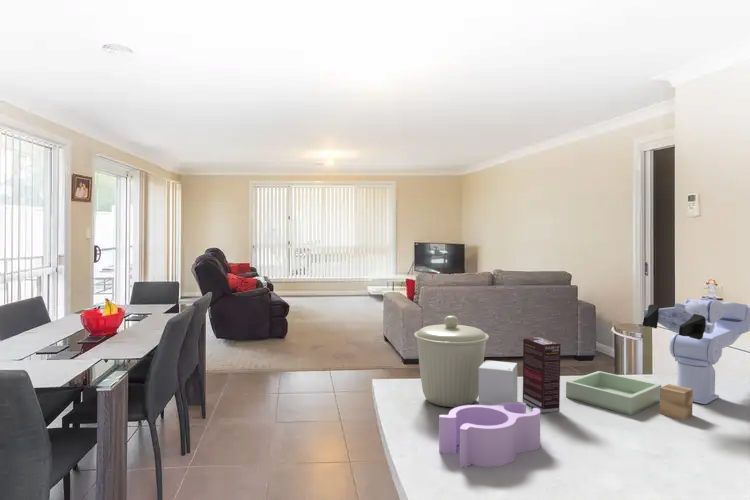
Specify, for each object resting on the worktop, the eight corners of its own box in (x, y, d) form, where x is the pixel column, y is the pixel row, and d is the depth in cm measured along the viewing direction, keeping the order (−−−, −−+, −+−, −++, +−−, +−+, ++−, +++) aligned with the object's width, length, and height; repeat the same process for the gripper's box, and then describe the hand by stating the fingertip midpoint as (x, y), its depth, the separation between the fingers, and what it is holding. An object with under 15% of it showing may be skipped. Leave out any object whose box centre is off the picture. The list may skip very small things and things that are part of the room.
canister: (474, 419, 111) (475, 324, 111) (401, 405, 120) (401, 318, 120) (497, 396, 127) (497, 313, 127) (430, 385, 136) (431, 308, 135)
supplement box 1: (518, 418, 112) (518, 362, 111) (512, 430, 105) (513, 370, 105) (485, 413, 115) (485, 359, 114) (477, 425, 108) (477, 366, 108)
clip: (510, 429, 106) (510, 396, 106) (555, 451, 95) (556, 415, 95) (430, 447, 97) (430, 411, 97) (470, 474, 86) (471, 434, 86)
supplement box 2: (560, 411, 116) (561, 343, 116) (542, 413, 115) (543, 344, 114) (538, 399, 125) (539, 336, 124) (521, 401, 123) (522, 337, 123)
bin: (598, 385, 136) (598, 370, 136) (661, 400, 124) (661, 384, 124) (566, 397, 127) (566, 381, 126) (630, 415, 114) (630, 397, 114)
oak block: (668, 409, 118) (669, 383, 118) (692, 415, 114) (692, 389, 114) (659, 413, 115) (659, 387, 115) (683, 420, 111) (683, 393, 111)
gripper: (656, 294, 127) (631, 301, 118) (723, 308, 116) (701, 317, 107) (652, 321, 128) (628, 330, 119) (718, 337, 117) (696, 348, 108)
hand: (662, 326), depth 113 cm, fingers open, 7 cm apart
